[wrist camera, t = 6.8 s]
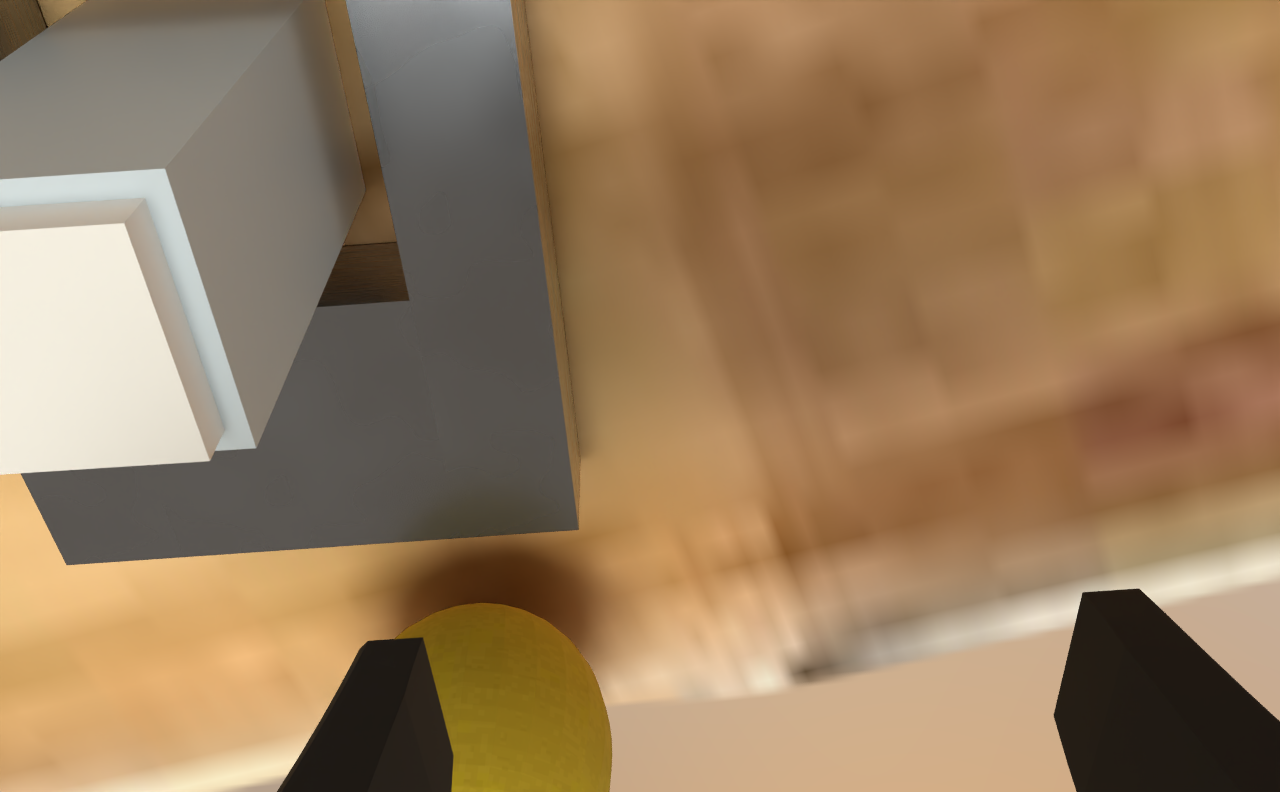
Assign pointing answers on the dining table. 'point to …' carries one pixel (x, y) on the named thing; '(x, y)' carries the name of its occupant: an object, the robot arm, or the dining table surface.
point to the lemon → (516, 702)
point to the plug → (164, 225)
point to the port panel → (389, 334)
